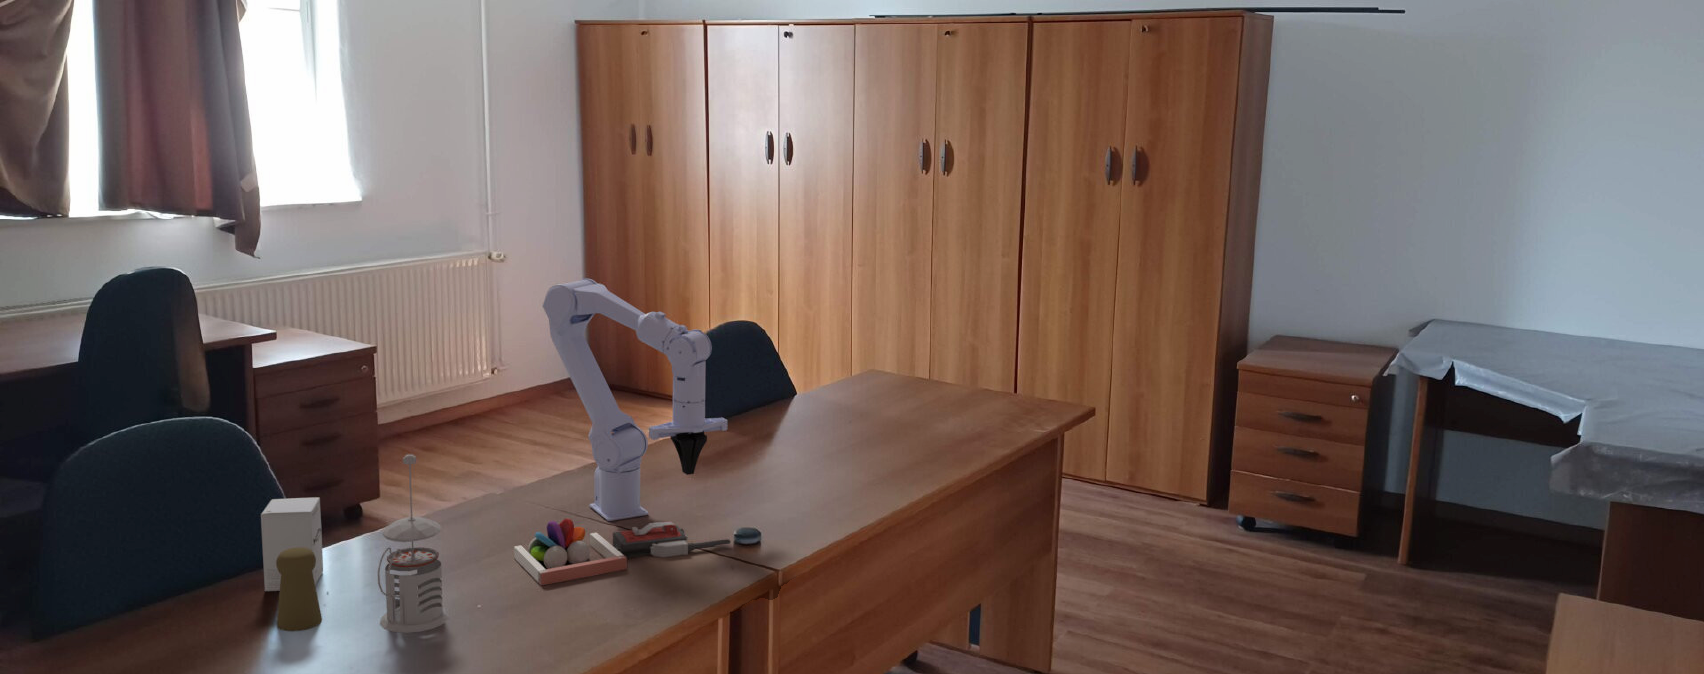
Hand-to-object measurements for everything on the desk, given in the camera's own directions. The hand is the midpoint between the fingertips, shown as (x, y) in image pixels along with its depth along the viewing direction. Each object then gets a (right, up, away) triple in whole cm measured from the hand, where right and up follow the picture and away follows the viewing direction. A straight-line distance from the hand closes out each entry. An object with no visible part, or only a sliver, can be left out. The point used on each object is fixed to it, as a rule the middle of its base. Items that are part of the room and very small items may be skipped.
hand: (688, 472), depth 223 cm
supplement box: (-58, -14, -29) cm, 66 cm away
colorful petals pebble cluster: (-19, -13, -17) cm, 29 cm away
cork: (-51, -17, -43) cm, 69 cm away
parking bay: (-18, -13, -17) cm, 28 cm away
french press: (-35, -17, -41) cm, 57 cm away
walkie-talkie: (-2, -12, -9) cm, 15 cm away
